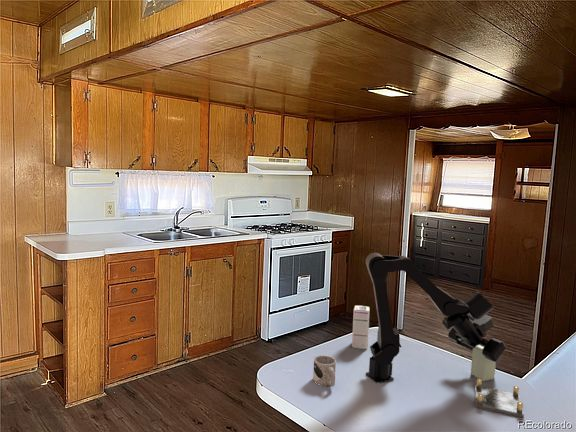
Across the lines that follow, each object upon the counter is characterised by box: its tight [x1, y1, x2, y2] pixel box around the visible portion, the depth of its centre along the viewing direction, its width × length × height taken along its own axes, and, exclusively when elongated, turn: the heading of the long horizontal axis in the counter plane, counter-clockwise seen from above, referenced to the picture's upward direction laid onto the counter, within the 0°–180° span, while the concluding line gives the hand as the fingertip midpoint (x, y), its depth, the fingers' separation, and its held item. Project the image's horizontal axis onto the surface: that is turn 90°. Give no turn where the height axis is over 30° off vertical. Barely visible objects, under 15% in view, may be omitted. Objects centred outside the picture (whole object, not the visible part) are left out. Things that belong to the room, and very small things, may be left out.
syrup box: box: [351, 305, 370, 350], centre depth 165 cm, size 6×6×14 cm
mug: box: [312, 355, 337, 388], centre depth 135 cm, size 10×7×7 cm
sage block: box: [470, 345, 497, 382], centre depth 144 cm, size 5×5×10 cm
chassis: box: [474, 378, 525, 419], centre depth 128 cm, size 12×12×3 cm
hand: (487, 356), depth 145 cm, fingers open, 9 cm apart
